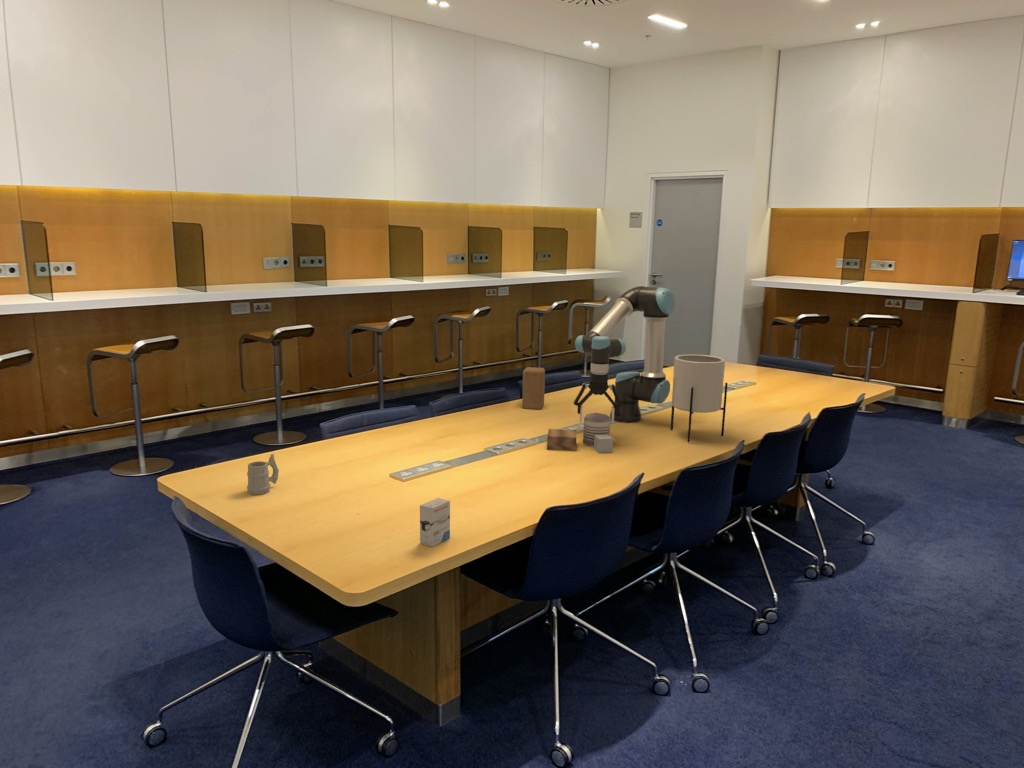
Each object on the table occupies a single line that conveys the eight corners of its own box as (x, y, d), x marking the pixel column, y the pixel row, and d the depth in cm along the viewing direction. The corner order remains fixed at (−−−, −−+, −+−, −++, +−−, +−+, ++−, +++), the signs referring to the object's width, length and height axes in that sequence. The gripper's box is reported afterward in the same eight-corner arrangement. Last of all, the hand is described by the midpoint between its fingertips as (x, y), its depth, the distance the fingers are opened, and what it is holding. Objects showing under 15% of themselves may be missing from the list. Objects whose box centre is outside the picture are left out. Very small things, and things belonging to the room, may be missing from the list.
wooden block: (541, 410, 386) (542, 371, 382) (521, 408, 388) (522, 370, 384) (544, 405, 396) (545, 367, 392) (525, 404, 398) (526, 366, 394)
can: (611, 441, 332) (613, 414, 330) (606, 448, 322) (607, 420, 320) (586, 438, 336) (587, 412, 334) (579, 445, 326) (581, 417, 323)
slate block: (607, 448, 322) (607, 434, 321) (612, 452, 316) (613, 438, 315) (593, 449, 320) (594, 435, 319) (598, 453, 315) (599, 439, 313)
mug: (242, 492, 260) (240, 458, 258) (271, 483, 270) (270, 450, 267) (255, 497, 256) (254, 462, 254) (285, 488, 265) (284, 454, 263)
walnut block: (576, 443, 329) (576, 430, 328) (575, 451, 317) (576, 437, 316) (548, 442, 330) (548, 428, 329) (547, 450, 318) (547, 436, 317)
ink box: (438, 534, 229) (438, 496, 226) (450, 538, 226) (450, 500, 224) (418, 543, 222) (418, 504, 219) (431, 547, 219) (431, 508, 217)
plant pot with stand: (725, 433, 349) (731, 357, 341) (715, 446, 327) (722, 365, 320) (673, 427, 358) (678, 352, 351) (660, 439, 337) (665, 360, 330)
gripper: (627, 372, 326) (624, 420, 330) (569, 370, 327) (567, 418, 331) (629, 375, 319) (626, 424, 323) (570, 373, 319) (567, 422, 323)
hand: (596, 421), depth 327 cm, fingers open, 13 cm apart
